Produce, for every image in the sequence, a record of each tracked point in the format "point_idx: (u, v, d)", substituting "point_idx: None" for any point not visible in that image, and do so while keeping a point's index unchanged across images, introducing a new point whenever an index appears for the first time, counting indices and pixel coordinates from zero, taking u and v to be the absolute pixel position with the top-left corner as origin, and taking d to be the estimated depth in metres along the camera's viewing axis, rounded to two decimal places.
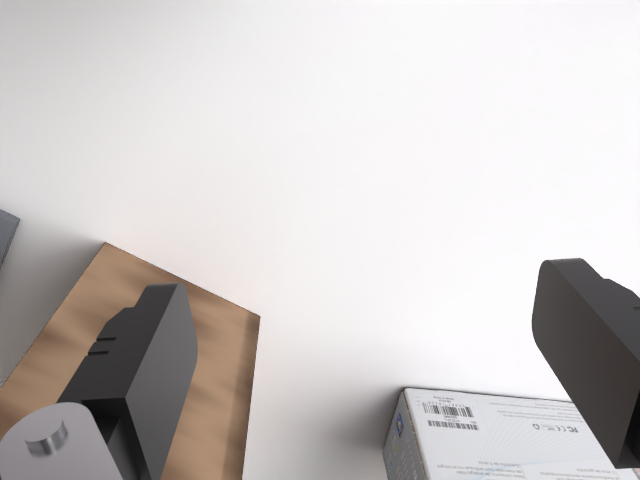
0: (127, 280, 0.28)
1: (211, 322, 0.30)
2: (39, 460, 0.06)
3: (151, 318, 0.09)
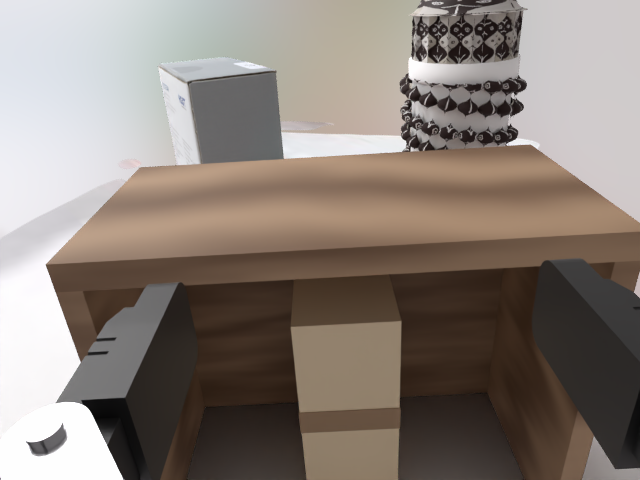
0: None
1: None
2: (39, 460, 0.06)
3: (151, 318, 0.09)
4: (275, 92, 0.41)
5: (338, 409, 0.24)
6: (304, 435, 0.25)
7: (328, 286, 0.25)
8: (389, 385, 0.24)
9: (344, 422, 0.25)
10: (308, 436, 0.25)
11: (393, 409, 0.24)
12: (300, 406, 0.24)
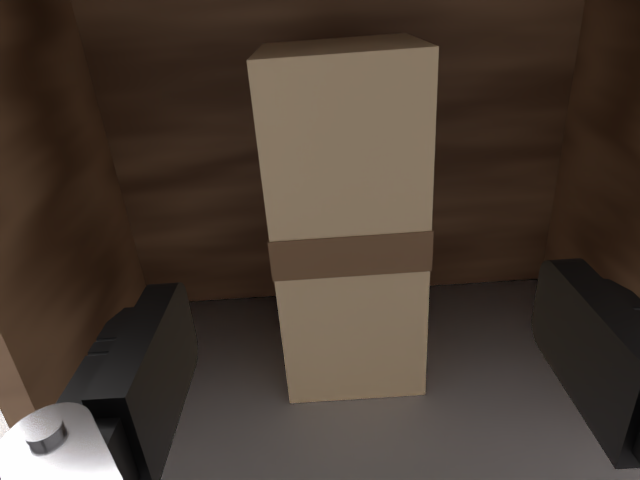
0: None
1: None
2: (39, 460, 0.06)
3: (151, 318, 0.09)
4: None
5: (333, 234, 0.15)
6: (279, 286, 0.16)
7: (314, 44, 0.16)
8: (416, 185, 0.14)
9: (341, 260, 0.15)
10: (285, 288, 0.16)
11: (421, 234, 0.15)
12: (270, 229, 0.15)
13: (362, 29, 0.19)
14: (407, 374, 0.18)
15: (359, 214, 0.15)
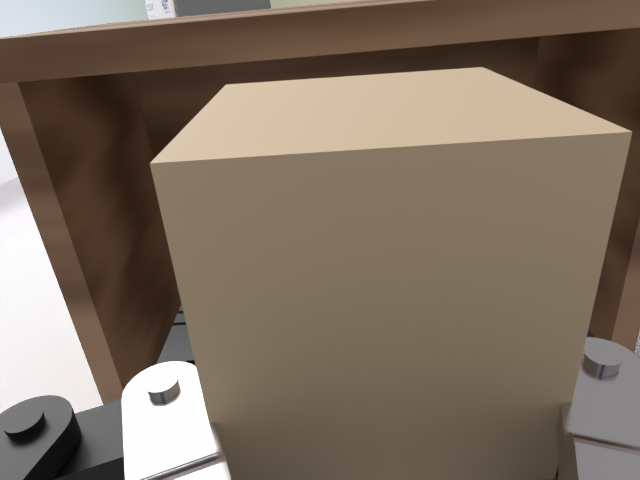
0: None
1: None
2: (164, 409, 0.07)
3: None
4: None
5: None
6: None
7: (318, 95, 0.08)
8: (534, 407, 0.07)
9: None
10: None
11: None
12: None
13: None
14: None
15: (410, 454, 0.07)
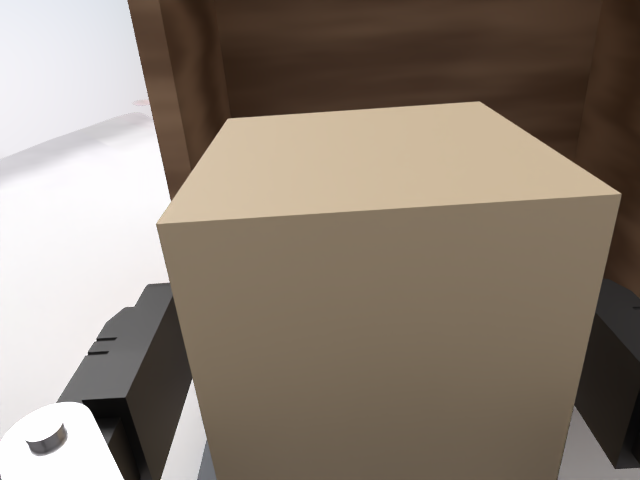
0: None
1: None
2: (40, 460, 0.06)
3: (151, 318, 0.09)
4: None
5: None
6: None
7: (318, 135, 0.08)
8: (529, 446, 0.07)
9: None
10: None
11: None
12: None
13: (432, 42, 0.26)
14: None
15: None
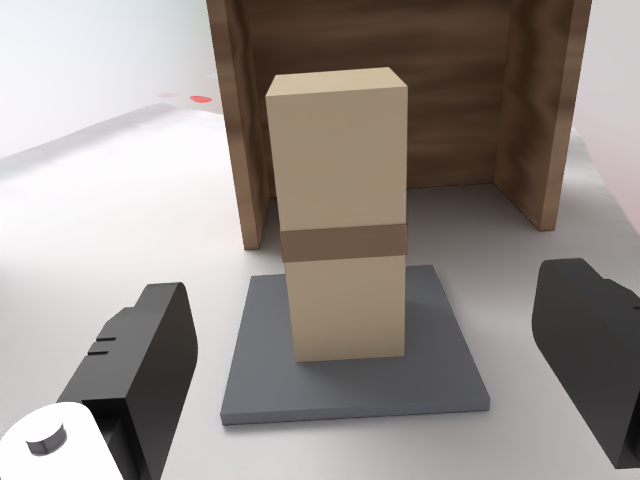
0: None
1: None
2: (39, 460, 0.06)
3: (151, 318, 0.09)
4: None
5: (330, 225, 0.20)
6: (287, 266, 0.20)
7: (316, 78, 0.20)
8: (393, 189, 0.19)
9: (336, 245, 0.20)
10: (293, 268, 0.20)
11: (398, 226, 0.20)
12: (281, 222, 0.19)
13: (395, 41, 0.38)
14: (389, 339, 0.22)
15: (350, 210, 0.19)
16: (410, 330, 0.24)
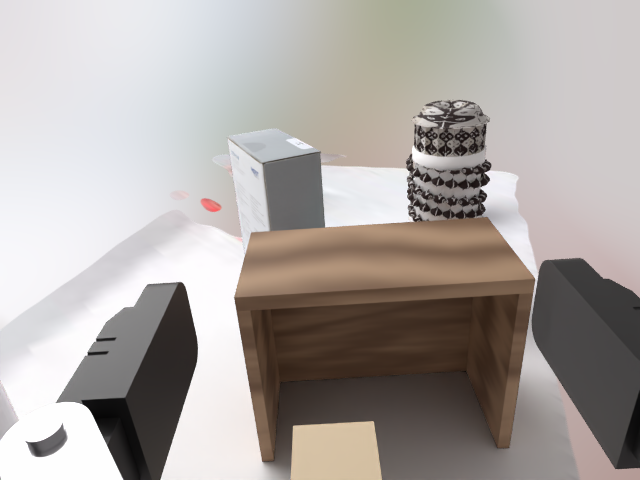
0: None
1: None
2: (39, 460, 0.06)
3: (151, 318, 0.09)
4: (319, 165, 0.58)
5: None
6: None
7: (322, 447, 0.29)
8: None
9: None
10: None
11: None
12: None
13: None
14: None
15: None
16: None
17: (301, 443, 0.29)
